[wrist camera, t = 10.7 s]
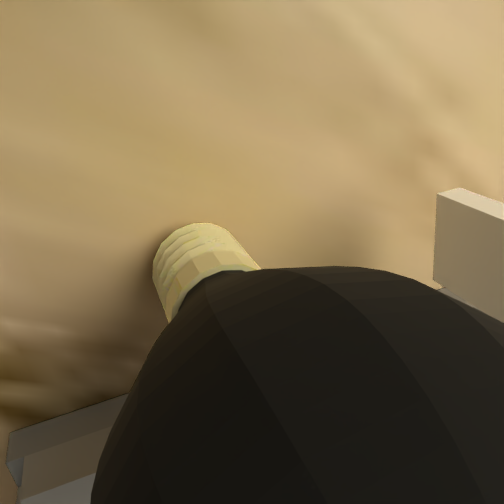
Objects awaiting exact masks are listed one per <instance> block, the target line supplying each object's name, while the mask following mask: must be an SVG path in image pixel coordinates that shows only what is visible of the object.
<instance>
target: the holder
mask: <svg viewBox="0 0 504 504" xmlns="http://www.w3.org/2000/svg"><path fill="white" fill-rule="evenodd" d="M437 291H440V292H442V293H444V294H446V295H448V296H450V297H452V298H454V299H457V300H459V301H461V302H463V303H465V304H467V305H469V306H472V307H474V308H476V307H475V306H473V305H472V304H470V303H469V302H467V301H465V300H464V299H462V298H461V297H459V296H458V295H456V294H454V293H453V292H451V291H450V290H448V289H447V288H442V289H439V290H437ZM476 309H478V308H476ZM478 310H479V309H478ZM480 311H481V310H480ZM482 312H483V311H482ZM485 314H486V313H485ZM128 395H129V393H128V394H125V395H122V396H119V397H116V398H113V399H110V400H107V401H104V402H101V403H98V404H95V405H92V406H89V407H86V408H83V409H80V410H77V411H74V412H71V413H68V414H65V415H62V416H59V417H56V418H53V419H50V420H47V421H44V422H41V423H38V424H35V425H32V426H29V427H26V428H23V429H20V430H17V431H14V432H11V433H10V436H9V443H8V450H7V457H6V465H7V467H8V469H9V471H10V473H11V475H12V477H13V479H14V481H15V483H16V485H17V486H18V490H17V499H16V504H90V502H91V492H92V488H93V483H94V479H95V475H96V471H97V467H98V463H99V459H100V457H101V454H102V451H103V449H104V446H105V444H106V441H107V438H108V436H109V433H110V431H111V429H112V427H113V425H114V423H115V421H116V419H117V417H118V415H119V413H120V411H121V409H122V407H123V405H124V403H125V401H126V399H127V397H128Z"/></svg>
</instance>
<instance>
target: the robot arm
mask: <svg viewBox="0 0 504 504" xmlns="http://www.w3.org/2000/svg"><path fill="white" fill-rule="evenodd" d="M433 280H434V281H436V282H437V283H439V284H440V285H442V286H443V287H445V288H447V289H448V290H450V291H451V292H453V293H454V294H456V295H458V296H459V297H461V298H462V299H464V300H465V301H467V302H469V303H470V304H472V305H473V306H475V307H476V308H478V309H479V310H481V311H483V312H484V313H486V314H487V315H489V316H491V317H493V318H495V319H497V320H499V321H501V322H503V323H504V203H502V202H499V201H496V200H493V199H490V198H488V197H485V196H482V195H479V194H477V193H474V192H471V191H468V190H465V189H463V188H460V187H459V188H456V189H452V190H448V191H445V192H441V193H437V204H436V224H435V245H434V266H433Z"/></svg>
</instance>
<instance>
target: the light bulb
mask: <svg viewBox="0 0 504 504" xmlns="http://www.w3.org/2000/svg"><path fill="white" fill-rule="evenodd" d="M152 279H153V282H154V284H155V287H156V290H157V292H158V296H159V298H160V301H161V303H162V306H163V309H164V311H165V314H166V317H167V320H168V323H169V324H168V325H167V327H166V328H165V329H164V331H163V332H162V333H161V335H160V336H159V338H158V339H157V341H156V342H155V344H154V345H153V347H152V349H151V351H150V353H149V355H148V357H147V359H146V361H145V363H144V365H143V367H142V369H141V371H140V373H139V375H138V377H137V379H136V381H135V383H134V385H133V387H132V389H131V391H130V393H129V395H128V397H127V399H126V401H125V403H124V405H123V407H122V409H121V411H120V413H119V415H118V417H117V419H116V421H115V423H114V425H113V427H112V429H111V431H110V433H109V436H108V438H107V441H106V444H105V446H104V449H103V451H102V454H101V457H100V459H99V463H98V467H97V471H96V475H95V479H94V483H93V488H92V492H91V502H90V504H504V323H503V322H501V321H499V320H497V319H495V318H493V317H491V316H489V315H487V314H485V313H484V312H482V311H480V310H478V309H476V308H474V307H472V306H469V305H467V304H465V303H463V302H461V301H459V300H457V299H454V298H452V297H450V296H448V295H446V294H444V293H442V292H440V291H437V290H435V289H433V288H431V287H429V286H427V285H425V284H422V283H420V282H418V281H416V280H414V279H411V278H407V277H404V276H400V275H397V274H394V273H390V272H387V271H382V270H375V269H368V268H362V267H344V266H326V267H303V268H280V269H261V268H260V267H259V266H258V265H257V264H256V263H255V261H254V260H253V259H252V258H251V257H250V256H249V254H248V253H247V252H246V251H245V250H244V249H243V247H242V246H241V245H240V244H239V243H238V242H237V240H236V239H235V238H234V237H233V236H232V235H231V234H230V233H229V232H228V230H227V229H224V228H222V227H219V226H217V225H215V224H212V223H192V224H190V225H187V226H185V227H182V228H180V229H177V230H175V231H174V232H173V233H172V234H171V235H170V236H169V237H168V238H167V239H166V240H164V241H163V242H162V243H161V245H160V247H159V249H158V251H157V254H156V256H155V258H154V260H153V276H152Z"/></svg>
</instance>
